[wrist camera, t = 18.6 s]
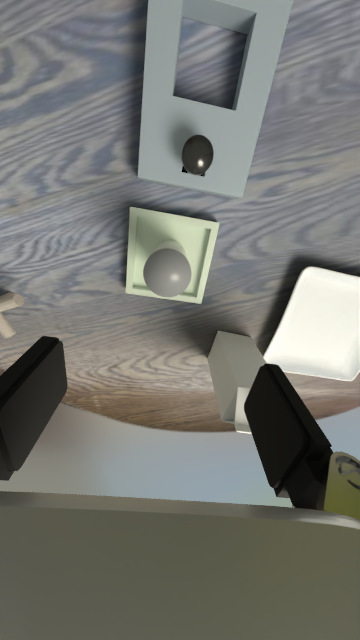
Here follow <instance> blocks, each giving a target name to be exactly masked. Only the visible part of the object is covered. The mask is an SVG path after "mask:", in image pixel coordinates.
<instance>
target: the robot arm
mask: <svg viewBox="0 0 360 640" xmlns="http://www.w3.org/2000/svg"><path fill="white" fill-rule="evenodd" d="M66 390H67V377H66V368H65V359H64V350H63V343H62V342H61V341H59V339H58V338H56V337H48V336H43V337H41V338H40V339H39V340H38V341H37V342H36V343H35V344H34V345H33V346H32V347H31V348H30V349H28V350H27V351H26V352H25V353H24V354H23V355H22V356H21V357H20V358H19V359H18V360H17V361H16V362H15V363H14V364H13V365H12V366H10V367H9V368H8V369H7V370H6V371H5V372H4V373H3V374H2V375H1V376H0V480H9V479H10V477H11V475H12V474H13V472H14V471H18V470H19V469H20V468H21V466H22V465H23V463H24V462H25V460H26V458H27V457H28V455H29V453H30V451H31V450H32V448H33V447H34V445H35V443H36V441H37V440H38V438H39V437H40V435H41V433H42V432H43V430H44V428H45V427H46V425H47V423H48V422H49V420H50V418H51V416H52V415H53V413H54V411H55V410H56V408H57V406H58V405H59V403H60V401H61V400H62V398H63V396H64V395H65V393H66ZM244 412H245V415H246V418H247V421H248V424H249V427H250V430H251V433H252V435H253V438H254V441H255V444H256V447H257V450H258V453H259V456H260V459H261V462H262V465H263V468H264V471H265V474H266V477H267V480H268V482H269V485H270V486H271V487H272V488H274V491H275V494H276V497H284V498H290V499H291V502H292V504H293V506H292V508H289V507H277V506H264V505H248V504H232V503H216V502H200V501H182V500H166V499H148V498H131V497H112V496H94V495H93V496H92V495H75V494H54V493H34V492H31V493H30V492H3V491H0V640H360V461H359V460H358V459H356V458H355V457H353V456H351V455H349V454H347V453H344V452H335V453H333V451H332V450H331V448H330V447H331V444H330V442H329V441H328V439H327V438H326V436H325V435H324V433H323V432H322V430H321V429H320V427H319V426H318V424H317V423H316V421H315V419H314V418H313V416H312V415H311V413H310V412H309V410H308V409H307V407H306V406H305V404H304V403H303V401H302V400H301V398H300V397H299V395H298V394H297V392H296V391H295V389H294V388H293V386H292V385H291V383H290V382H289V380H288V379H287V377H286V376H285V374H284V372H283V371H282V369H281V368H280V366H279V365H276V364H268V363H265V364H264V365H263V366H261V367H260V368H259V371H258V373H257V375H256V378H255V380H254V382H253V384H252V387H251V389H250V391H249V394H248V396H247V398H246V401H245V403H244Z"/></svg>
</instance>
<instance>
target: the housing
mask: <svg viewBox="0 0 360 640" xmlns="http://www.w3.org/2000/svg"><path fill="white" fill-rule="evenodd" d="M292 3H293V0H148V15H147V31H146V48H145V64H144V81H143V97H142V114H141V131H140V147H139V164H138V178H139V179H140V180H142V181H147V182H152V183H157V184H162V185H167V186H173V187H178V188H183V189H188V190H193V191H198V192H203V193H208V194H214V195H219V196H224V197H229V198H234V199H239V198H242V196H243V192H244V189H245V185H246V181H247V177H248V173H249V169H250V165H251V162H252V158H253V154H254V150H255V146H256V142H257V138H258V135H259V131H260V127H261V123H262V119H263V115H264V111H265V108H266V104H267V100H268V96H269V92H270V88H271V84H272V81H273V77H274V73H275V69H276V65H277V61H278V57H279V53H280V50H281V46H282V42H283V38H284V34H285V30H286V26H287V23H288V19H289V15H290V11H291V7H292ZM183 17H185V18H189V19H192V20H196V21H200V22H203V23H207V24H210V25H214V26H218V27H221V28H225V29H229V30H232V31H236V32H240V33H243V34H247V40H246V44H245V49H244V54H243V59H242V64H241V69H240V74H239V78H238V83H237V88H236V93H235V98H234V103H233V108H232V110H230V109H226V108H222V107H217V106H213V105H209V104H205V103H201V102H196V101H192V100H188V99H184V98H180V97H175V96H174V91H175V82H176V72H177V63H178V54H179V45H180V36H181V27H182V18H183ZM194 135H203V136H205V137H206V138H208V139H209V141H210V142H211V144H212V146H213V151H214V156H213V161H212V164H211V166H210V167H209V168H208V170H207V171H206V172H205V173H203V176H199V175H192V174H189V173H184V172H182V167H183V163H182V150H183V147H184V144H185V143H186V141H187V140H188V139H189V138H190V137H192V136H194Z"/></svg>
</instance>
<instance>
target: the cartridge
mask: <svg viewBox="0 0 360 640" xmlns="http://www.w3.org/2000/svg"><path fill="white" fill-rule="evenodd" d="M191 275H192V274H191V267H190V264H189V261H188V260H187V257H186V252H185V250H184V248H183V247H182V246H181V245H180V244H179V243H178V242H176V241H172V240H167V241H163V242H161V243H160V244H158V245H157V247H156V248H155V250H154V252H153V253H152V254H151V255H150V256H149V258H148V259H147V261H146V263H145V265H144V269H143V277H144V281H145V283H146V285H147V287H148V288H149V289H150V290H151V291H152V292H153V293H155V294H156V295H159V296H162V297H174V296H177V295H179V294H181V293H182V292H184V291H185V290H186V288H187V287H188V285H189V284H190V281H191Z"/></svg>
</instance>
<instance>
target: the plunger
mask: <svg viewBox="0 0 360 640" xmlns="http://www.w3.org/2000/svg"><path fill="white" fill-rule="evenodd" d="M213 156H214V151H213V146H212V144H211V142H210V141H209V139H208V138H206V137H205V136H203V135H194V136H192V137H190V138H189V139H188V140H187V141H186V143H185V144H184V147H183V150H182V163H183V166H184V168H185V169H186V171H187V172H188V173H190V174H192V175H201V174H203V173H205V172H206V171H207V170H208V168H209V167H210V166H211V164H212V161H213Z"/></svg>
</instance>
